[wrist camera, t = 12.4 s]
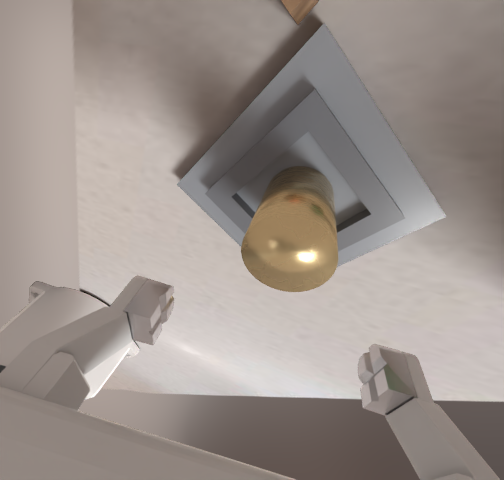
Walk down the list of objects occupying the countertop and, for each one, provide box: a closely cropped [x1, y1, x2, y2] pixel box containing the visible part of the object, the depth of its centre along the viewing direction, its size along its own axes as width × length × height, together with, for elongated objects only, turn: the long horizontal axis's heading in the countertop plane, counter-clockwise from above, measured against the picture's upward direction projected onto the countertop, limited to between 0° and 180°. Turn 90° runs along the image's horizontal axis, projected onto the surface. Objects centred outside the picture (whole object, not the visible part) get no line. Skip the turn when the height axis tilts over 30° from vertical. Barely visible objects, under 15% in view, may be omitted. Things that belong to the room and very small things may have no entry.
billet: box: [241, 166, 338, 292], centre depth 16 cm, size 5×5×7 cm
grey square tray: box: [177, 23, 447, 267], centre depth 18 cm, size 14×14×2 cm
